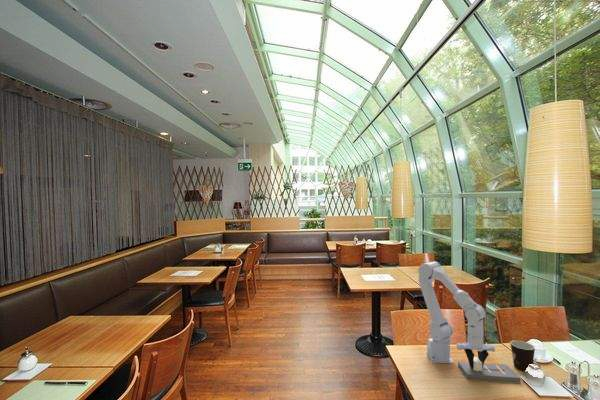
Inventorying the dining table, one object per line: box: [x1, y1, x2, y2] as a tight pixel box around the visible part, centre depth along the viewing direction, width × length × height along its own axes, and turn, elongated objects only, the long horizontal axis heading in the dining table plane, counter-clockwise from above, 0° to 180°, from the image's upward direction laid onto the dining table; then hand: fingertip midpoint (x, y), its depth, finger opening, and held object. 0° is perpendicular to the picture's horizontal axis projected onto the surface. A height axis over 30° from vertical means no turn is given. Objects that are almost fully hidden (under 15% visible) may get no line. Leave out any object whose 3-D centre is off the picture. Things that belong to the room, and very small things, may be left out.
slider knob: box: [473, 356, 482, 371], centre depth 128 cm, size 3×4×4 cm
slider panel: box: [457, 361, 522, 384], centre depth 128 cm, size 20×10×2 cm, turn 83°
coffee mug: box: [509, 340, 536, 373], centre depth 134 cm, size 12×9×10 cm
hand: (475, 367), depth 128 cm, fingers closed on slider knob, 3 cm apart
